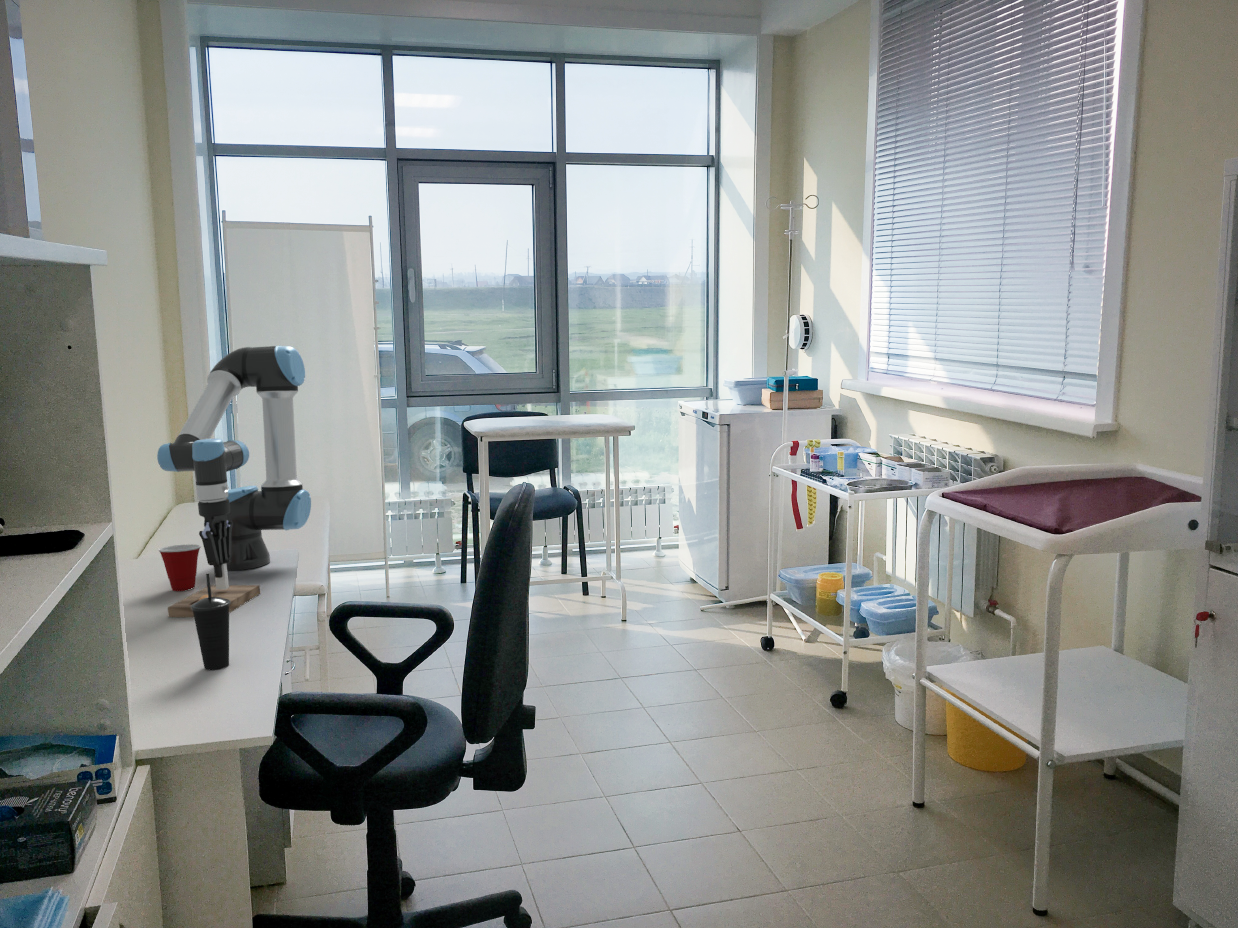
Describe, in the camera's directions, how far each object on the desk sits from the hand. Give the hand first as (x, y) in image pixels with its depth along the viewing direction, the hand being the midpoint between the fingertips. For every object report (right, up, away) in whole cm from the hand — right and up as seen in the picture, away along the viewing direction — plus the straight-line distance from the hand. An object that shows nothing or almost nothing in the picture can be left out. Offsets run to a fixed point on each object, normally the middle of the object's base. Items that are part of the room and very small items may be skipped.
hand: (222, 588), depth 256 cm
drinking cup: (+19, -10, -49) cm, 54 cm away
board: (0, -4, -3) cm, 5 cm away
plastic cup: (-16, -2, +14) cm, 22 cm away
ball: (-1, -3, -8) cm, 8 cm away
